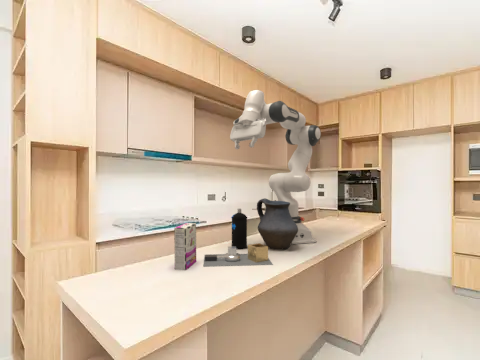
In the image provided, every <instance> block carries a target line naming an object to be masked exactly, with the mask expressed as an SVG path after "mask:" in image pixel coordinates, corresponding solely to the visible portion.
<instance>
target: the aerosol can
mask: <svg viewBox="0 0 480 360" xmlns="http://www.w3.org/2000/svg"><path fill="white" fill-rule="evenodd" d="M230 218H231V246H236V251H238V250H246V249H248V243H247V242H248V216H247V215H246V214H245V213H242V208H237V212H236V213H234V214H233V215H232V216H231V217H230Z"/></svg>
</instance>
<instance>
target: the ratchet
mask: <svg viewBox="0 0 480 360" xmlns="http://www.w3.org/2000/svg"><path fill="white" fill-rule="evenodd" d="M223 254H224V255H223V256H217V255H208V254H204V256H205V261H227V262H237V261H240V254H241V253H239V252H237V250H236V246H232V245H228V246H227V252H225V253H223Z"/></svg>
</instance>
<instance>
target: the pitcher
mask: <svg viewBox="0 0 480 360" xmlns="http://www.w3.org/2000/svg"><path fill="white" fill-rule="evenodd" d="M263 205H264V207H265V211H264V212H263ZM289 205H290V202H285V201H278V200H270V199H268V198H261V199H259V200H258V201H257V202H256V210H257V215H258V217H259V223H258V225H257V230H258V233H259V235H260V236H261V238H262V240H263V242H264V245H266V246H268V249H271V250H281V251H282V250H287V249H289V248H290V246H291V245H292V244H291V243H292V241H293V239H294V238H295V236H296V234H297V232H298V227H297V225H296V224H295V222H294V221H293V219H292V217H291V215H290V213H289V209H288V208H289Z"/></svg>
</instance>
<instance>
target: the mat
mask: <svg viewBox="0 0 480 360" xmlns="http://www.w3.org/2000/svg"><path fill="white" fill-rule="evenodd" d="M224 254H225V253H221V254H220V253H218V254H216V253H215V254H213V253H212V254H207V255H217V256H223V255H224ZM239 254H240V261H237V262H227V261H205V255H204V256H203V264H202V268H209V267H210V268H213V267H214V268H215V267H243V266H244V267H246V266H247V267H248V266H253V267H254V266H274V264H273V262H272V261H271V259H270V258H269V257H268V260H267V261H262V262H257V263H256V262H254V261H252V260H249V259H248V253H239Z"/></svg>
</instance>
